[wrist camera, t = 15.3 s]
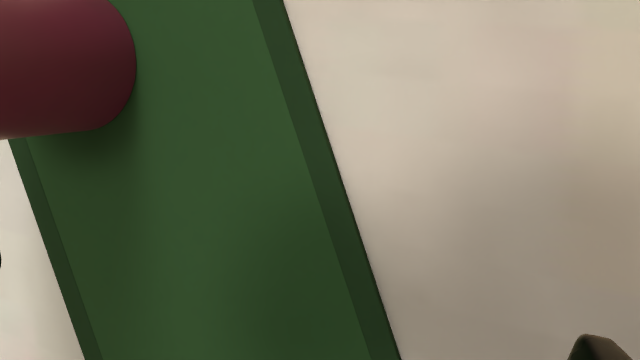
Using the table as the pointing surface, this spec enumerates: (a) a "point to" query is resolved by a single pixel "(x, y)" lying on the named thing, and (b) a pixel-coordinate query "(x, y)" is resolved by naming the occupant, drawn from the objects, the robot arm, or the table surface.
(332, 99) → the table surface
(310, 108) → the cloth
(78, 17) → the grape tub
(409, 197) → the table surface
